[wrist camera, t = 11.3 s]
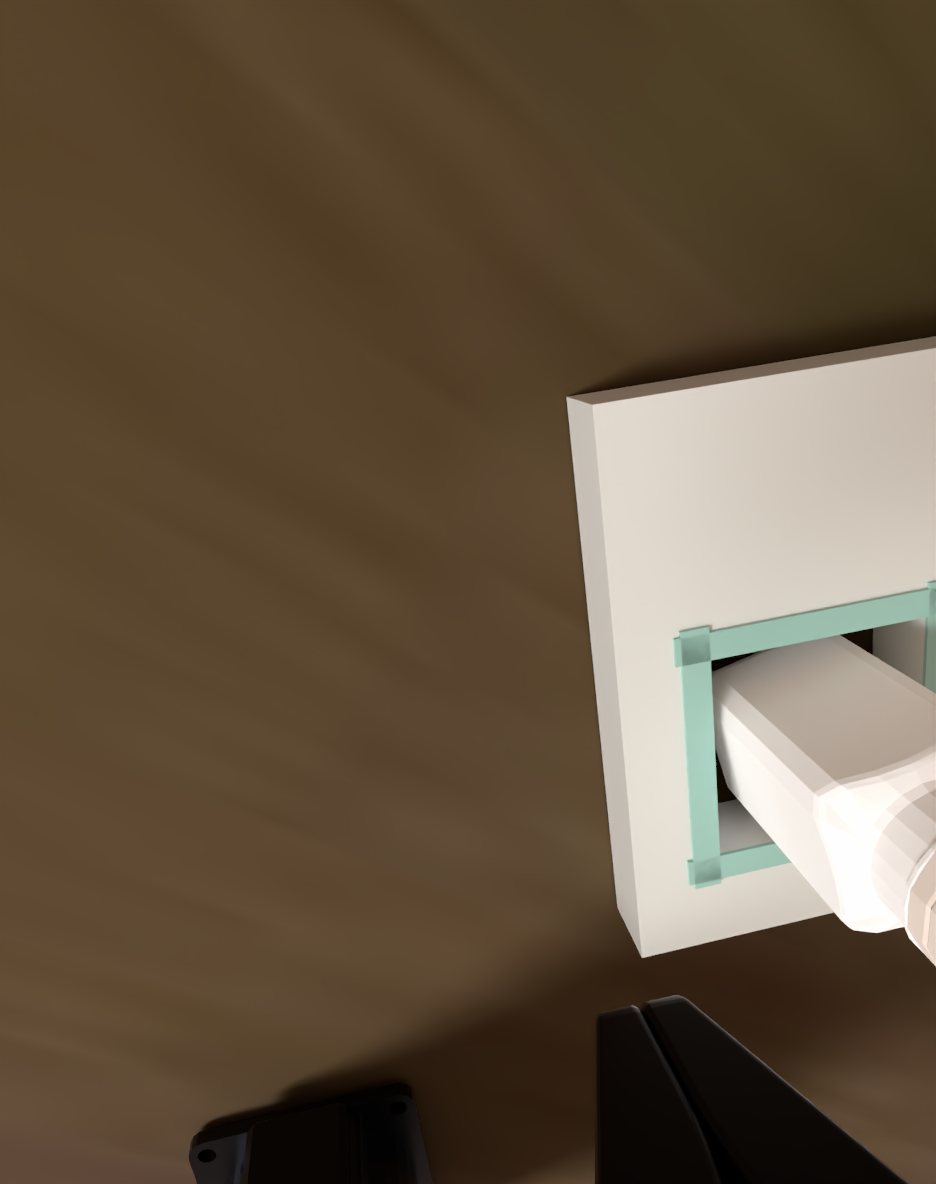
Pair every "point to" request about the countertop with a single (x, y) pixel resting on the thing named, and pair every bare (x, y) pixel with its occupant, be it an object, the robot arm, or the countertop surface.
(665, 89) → the countertop surface
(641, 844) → the port plate
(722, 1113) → the robot arm
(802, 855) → the salt shaker
